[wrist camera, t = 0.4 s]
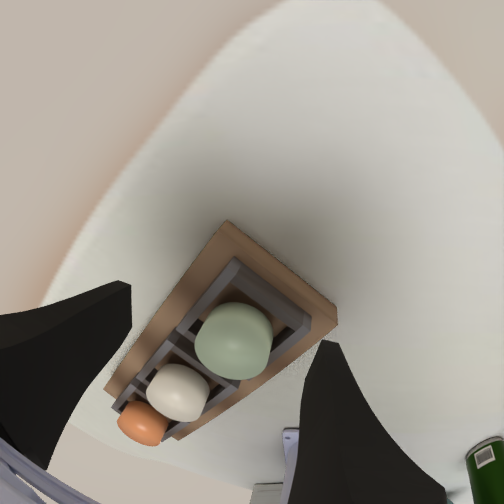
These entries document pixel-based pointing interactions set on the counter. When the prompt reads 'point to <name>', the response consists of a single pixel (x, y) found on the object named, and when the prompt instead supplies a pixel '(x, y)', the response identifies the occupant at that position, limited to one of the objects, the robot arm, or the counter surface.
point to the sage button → (235, 341)
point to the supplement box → (266, 494)
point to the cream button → (178, 392)
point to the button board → (197, 310)
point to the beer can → (487, 471)
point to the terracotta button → (142, 423)
